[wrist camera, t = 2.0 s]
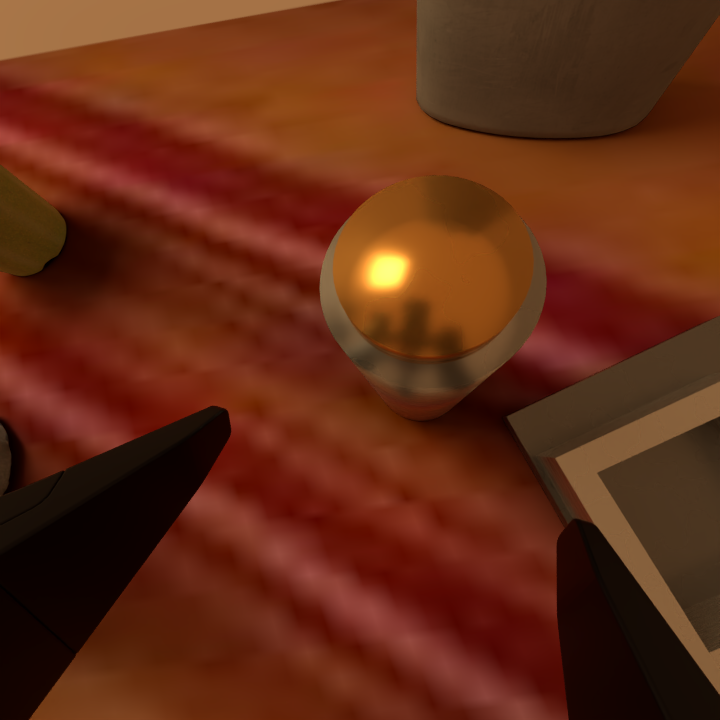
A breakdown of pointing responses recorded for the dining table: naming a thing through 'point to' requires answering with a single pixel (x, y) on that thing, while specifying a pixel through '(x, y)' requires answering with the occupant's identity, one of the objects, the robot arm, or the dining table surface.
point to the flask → (552, 62)
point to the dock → (644, 474)
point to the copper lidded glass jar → (432, 290)
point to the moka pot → (4, 460)
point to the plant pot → (27, 228)
